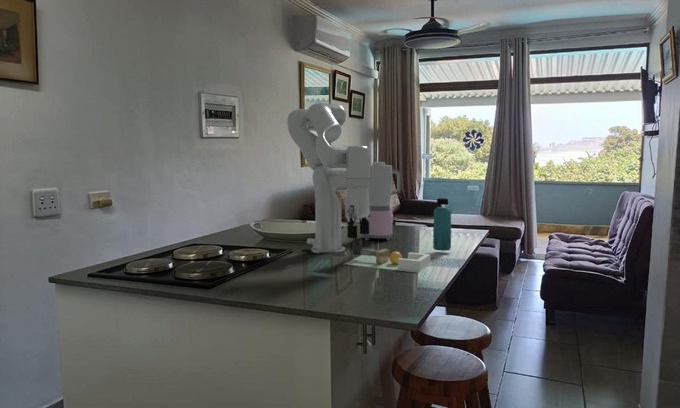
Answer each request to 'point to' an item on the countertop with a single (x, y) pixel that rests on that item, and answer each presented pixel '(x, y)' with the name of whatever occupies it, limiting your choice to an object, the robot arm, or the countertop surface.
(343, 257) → the countertop surface
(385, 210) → the blender
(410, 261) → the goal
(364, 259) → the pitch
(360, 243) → the rod
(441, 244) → the beverage bottle
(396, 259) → the ball
